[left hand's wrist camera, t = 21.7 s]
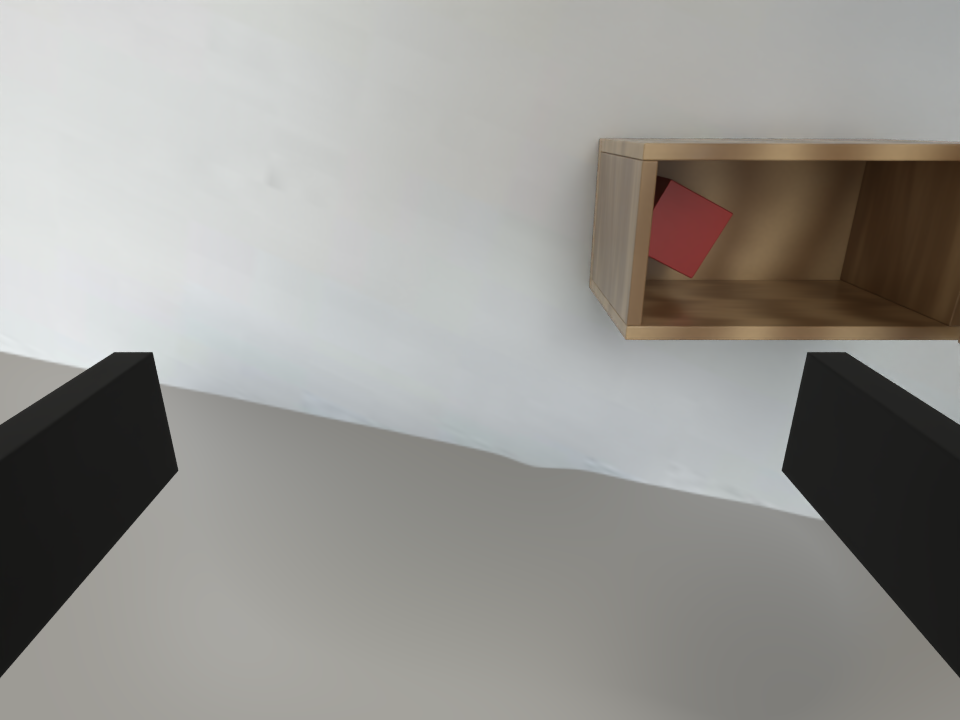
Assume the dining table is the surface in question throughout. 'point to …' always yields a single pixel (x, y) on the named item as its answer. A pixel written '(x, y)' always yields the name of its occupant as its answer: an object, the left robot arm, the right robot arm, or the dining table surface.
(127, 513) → the left robot arm
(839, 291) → the brown hollow rectangular box
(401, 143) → the dining table surface
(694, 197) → the block
